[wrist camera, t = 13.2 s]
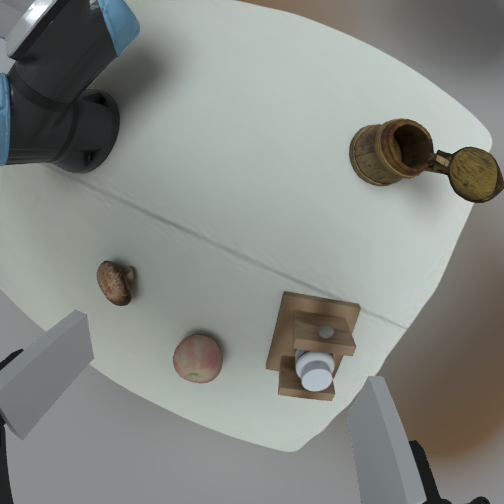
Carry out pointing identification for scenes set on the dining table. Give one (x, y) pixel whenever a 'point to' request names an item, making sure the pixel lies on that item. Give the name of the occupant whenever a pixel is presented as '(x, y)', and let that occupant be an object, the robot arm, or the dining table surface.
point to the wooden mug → (422, 160)
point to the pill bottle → (314, 369)
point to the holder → (310, 338)
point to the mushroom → (115, 283)
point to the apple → (198, 359)
